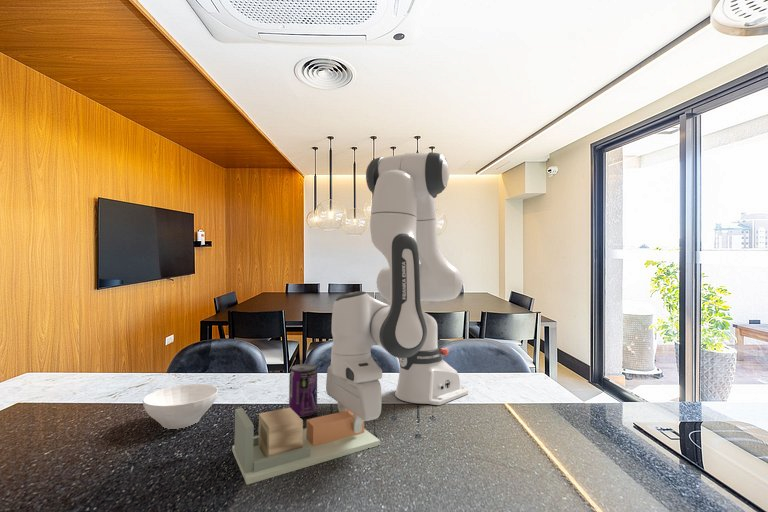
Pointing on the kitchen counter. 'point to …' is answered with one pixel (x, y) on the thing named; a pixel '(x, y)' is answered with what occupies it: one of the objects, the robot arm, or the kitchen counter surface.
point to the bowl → (180, 404)
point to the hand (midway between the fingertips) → (350, 426)
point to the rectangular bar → (330, 427)
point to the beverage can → (303, 389)
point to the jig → (266, 467)
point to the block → (280, 432)
